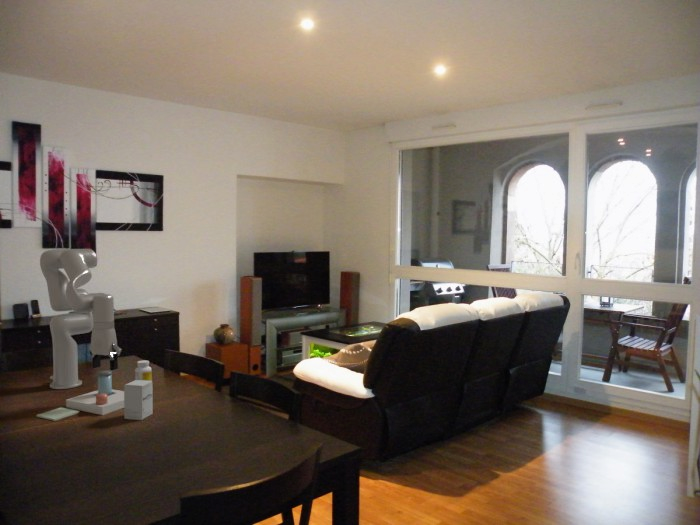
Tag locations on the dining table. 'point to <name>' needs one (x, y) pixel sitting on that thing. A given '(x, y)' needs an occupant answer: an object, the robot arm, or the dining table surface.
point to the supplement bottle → (143, 371)
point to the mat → (57, 413)
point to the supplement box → (138, 399)
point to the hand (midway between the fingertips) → (105, 368)
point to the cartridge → (105, 382)
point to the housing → (89, 404)
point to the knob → (101, 398)
